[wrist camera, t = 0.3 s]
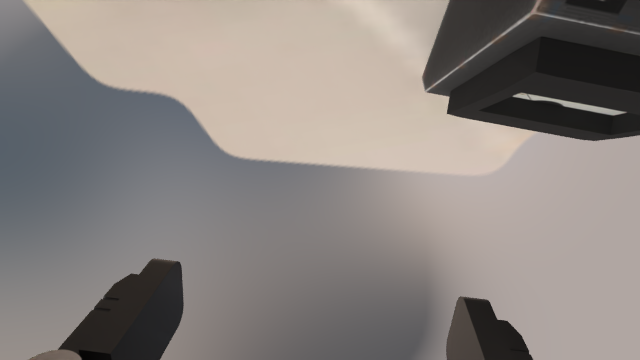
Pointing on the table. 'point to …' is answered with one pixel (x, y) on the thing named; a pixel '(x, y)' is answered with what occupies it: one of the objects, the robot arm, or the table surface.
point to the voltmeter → (541, 65)
